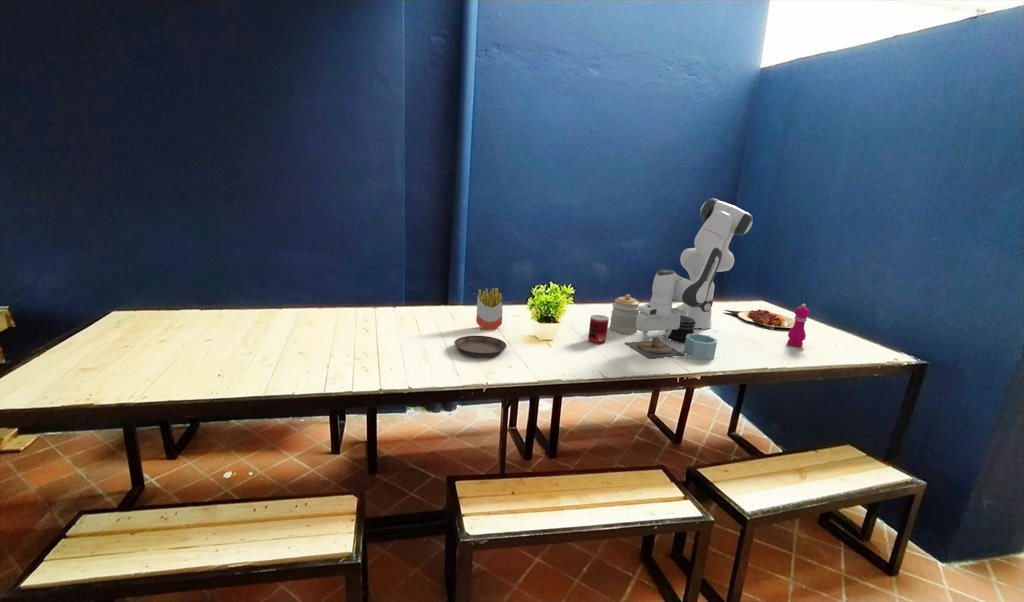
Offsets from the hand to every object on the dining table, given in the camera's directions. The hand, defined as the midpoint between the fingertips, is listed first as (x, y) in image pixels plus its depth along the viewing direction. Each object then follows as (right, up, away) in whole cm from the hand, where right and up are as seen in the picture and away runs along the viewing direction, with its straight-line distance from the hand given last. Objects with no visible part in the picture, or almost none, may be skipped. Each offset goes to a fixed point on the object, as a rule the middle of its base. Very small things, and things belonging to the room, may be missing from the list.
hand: (655, 339), depth 220 cm
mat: (0, -4, +1) cm, 5 cm away
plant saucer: (-74, -4, -14) cm, 75 cm away
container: (+15, -1, +19) cm, 24 cm away
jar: (-8, +2, +25) cm, 26 cm away
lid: (0, -4, +1) cm, 4 cm away
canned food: (-24, -1, +7) cm, 25 cm away
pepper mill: (+71, -4, +22) cm, 74 cm away
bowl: (+18, -6, 0) cm, 19 cm away
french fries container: (-72, +4, +13) cm, 73 cm away
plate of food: (+74, +5, +58) cm, 94 cm away
